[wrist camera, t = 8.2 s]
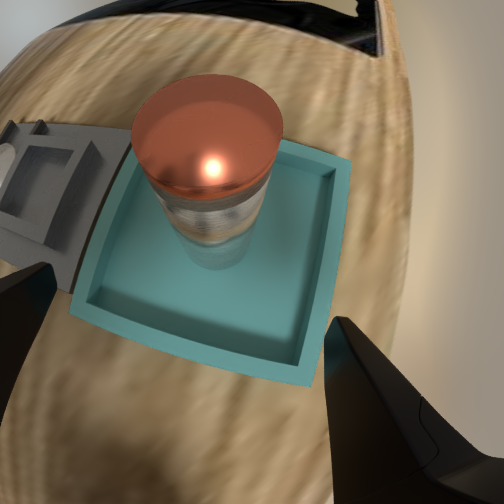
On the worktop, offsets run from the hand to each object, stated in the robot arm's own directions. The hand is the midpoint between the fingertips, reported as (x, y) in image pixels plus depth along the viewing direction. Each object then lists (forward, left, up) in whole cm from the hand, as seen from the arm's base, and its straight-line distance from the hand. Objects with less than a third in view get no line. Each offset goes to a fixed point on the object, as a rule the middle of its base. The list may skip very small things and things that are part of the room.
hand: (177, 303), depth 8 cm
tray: (+4, 0, -8) cm, 9 cm away
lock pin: (+4, 0, -8) cm, 9 cm away
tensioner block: (+4, +16, -8) cm, 19 cm away
